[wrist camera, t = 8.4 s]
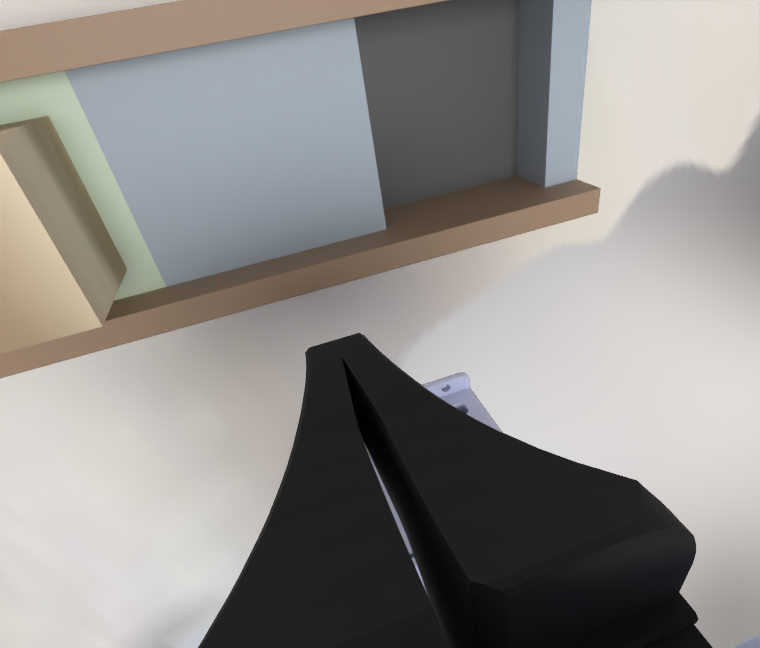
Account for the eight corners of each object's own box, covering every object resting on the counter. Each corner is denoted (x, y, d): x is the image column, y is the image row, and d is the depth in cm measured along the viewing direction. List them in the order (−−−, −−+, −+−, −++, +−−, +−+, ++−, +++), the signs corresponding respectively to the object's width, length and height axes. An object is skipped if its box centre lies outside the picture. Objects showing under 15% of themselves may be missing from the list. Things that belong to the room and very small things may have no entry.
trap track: (551, -51, 17) (630, -75, 14) (541, 187, 22) (597, 212, 19) (-486, 126, 12) (-748, 156, 9) (-199, 381, 17) (-299, 460, 14)
